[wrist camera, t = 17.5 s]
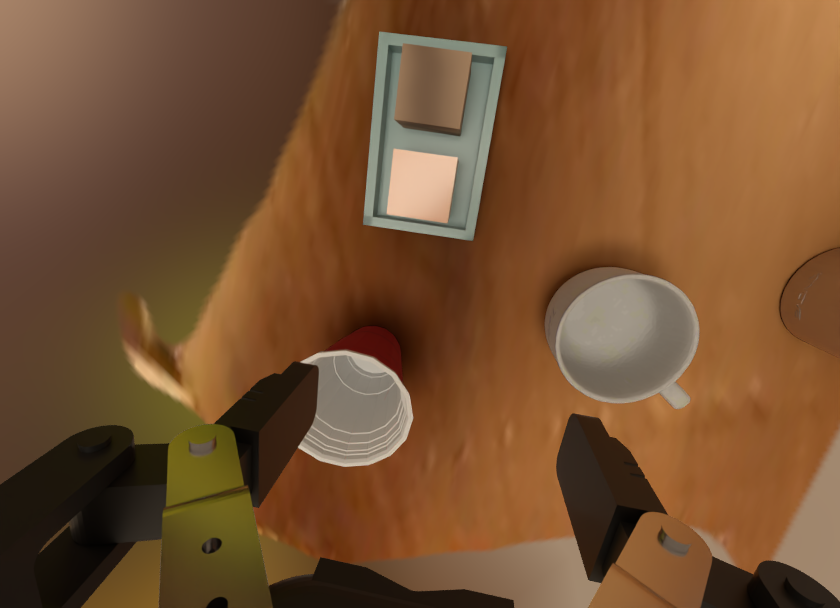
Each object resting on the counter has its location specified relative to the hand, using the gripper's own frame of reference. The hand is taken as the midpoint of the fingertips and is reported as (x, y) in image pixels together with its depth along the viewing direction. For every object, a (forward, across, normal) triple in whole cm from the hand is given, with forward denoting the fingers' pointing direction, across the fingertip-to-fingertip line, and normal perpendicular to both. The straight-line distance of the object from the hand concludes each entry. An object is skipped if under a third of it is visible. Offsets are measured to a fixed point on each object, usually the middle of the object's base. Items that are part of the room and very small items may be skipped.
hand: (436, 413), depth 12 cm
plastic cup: (+27, +7, +11) cm, 30 cm away
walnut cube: (+26, +4, -13) cm, 29 cm away
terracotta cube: (+26, +4, -6) cm, 27 cm away
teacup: (+27, -15, +4) cm, 31 cm away
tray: (+27, +4, -10) cm, 29 cm away
